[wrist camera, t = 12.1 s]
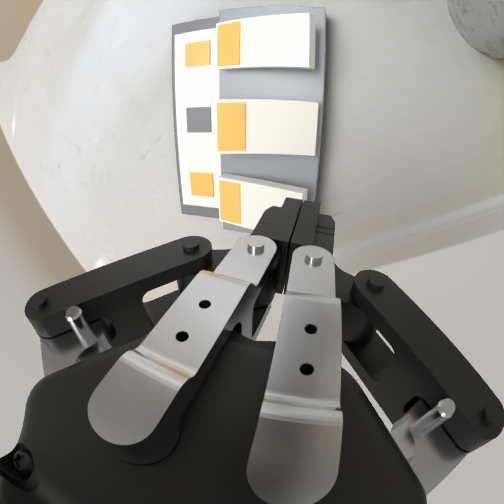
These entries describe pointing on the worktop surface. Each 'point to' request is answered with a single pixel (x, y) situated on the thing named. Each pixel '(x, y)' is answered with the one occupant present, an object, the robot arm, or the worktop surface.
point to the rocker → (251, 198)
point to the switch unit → (236, 87)
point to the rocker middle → (265, 126)
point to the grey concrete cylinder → (480, 24)
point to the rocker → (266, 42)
